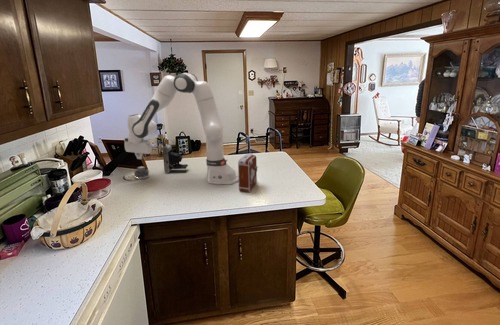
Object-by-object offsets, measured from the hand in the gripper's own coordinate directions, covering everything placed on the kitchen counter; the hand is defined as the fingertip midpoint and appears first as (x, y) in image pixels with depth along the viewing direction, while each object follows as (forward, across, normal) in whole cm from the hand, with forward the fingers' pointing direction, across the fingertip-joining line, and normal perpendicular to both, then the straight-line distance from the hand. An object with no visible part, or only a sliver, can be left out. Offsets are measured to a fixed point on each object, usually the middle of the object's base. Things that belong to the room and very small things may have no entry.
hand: (139, 159), depth 193 cm
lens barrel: (+13, 0, 0) cm, 13 cm away
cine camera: (+13, -76, -10) cm, 78 cm away
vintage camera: (+13, -15, -19) cm, 28 cm away
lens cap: (+11, 0, 0) cm, 11 cm away
